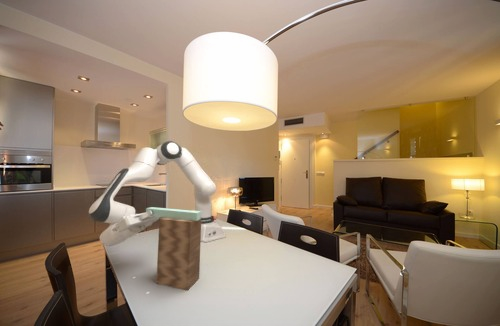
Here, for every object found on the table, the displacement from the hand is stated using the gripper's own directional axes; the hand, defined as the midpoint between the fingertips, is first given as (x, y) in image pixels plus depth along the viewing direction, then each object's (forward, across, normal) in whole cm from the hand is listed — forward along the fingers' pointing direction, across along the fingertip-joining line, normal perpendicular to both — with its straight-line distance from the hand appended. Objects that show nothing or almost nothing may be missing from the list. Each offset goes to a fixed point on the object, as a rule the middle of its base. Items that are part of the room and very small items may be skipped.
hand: (156, 210), depth 79 cm
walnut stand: (-3, 0, +30) cm, 30 cm away
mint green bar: (+6, 0, +6) cm, 8 cm away
